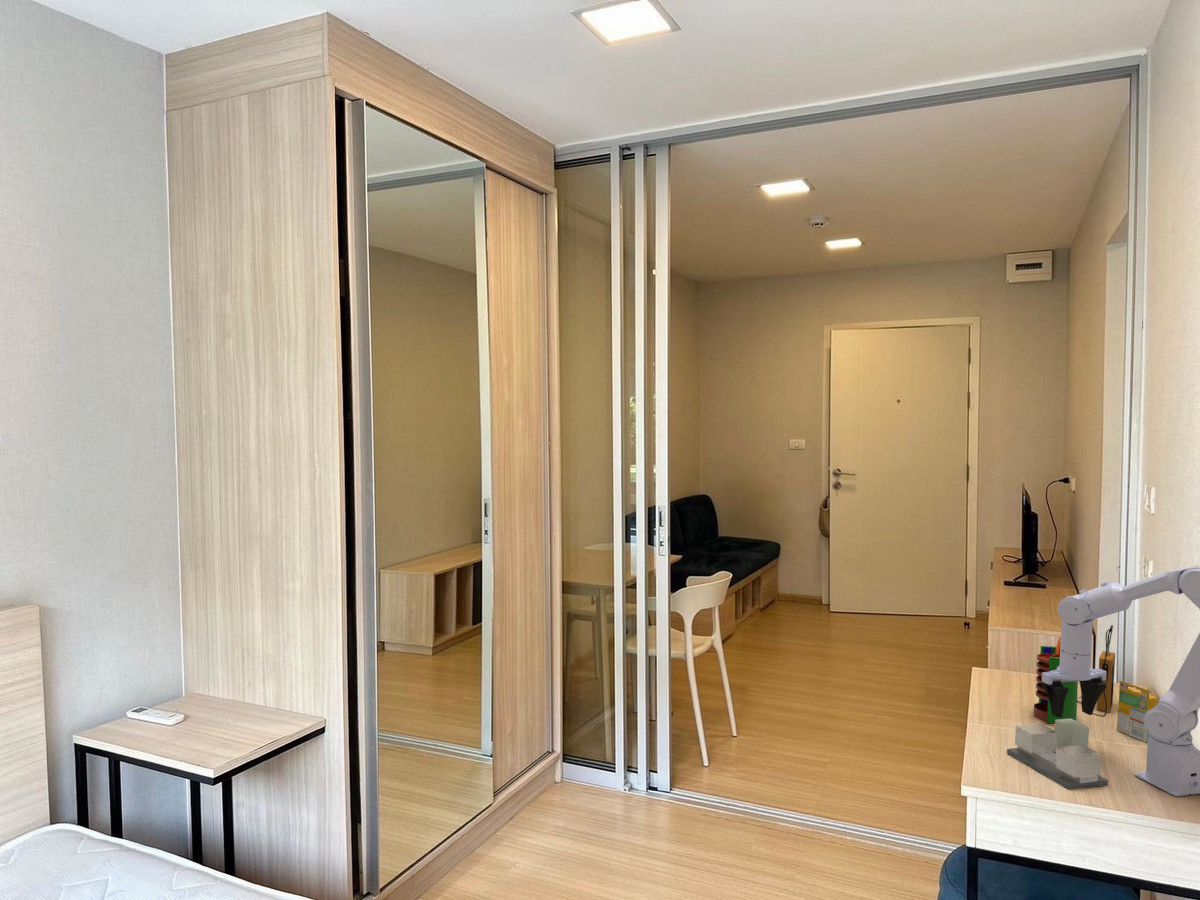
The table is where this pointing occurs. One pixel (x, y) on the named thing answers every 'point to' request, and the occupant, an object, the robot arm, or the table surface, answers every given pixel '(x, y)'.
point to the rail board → (1057, 758)
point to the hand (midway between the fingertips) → (1072, 714)
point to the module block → (1071, 733)
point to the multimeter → (1107, 665)
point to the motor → (1050, 662)
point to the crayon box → (1134, 710)
